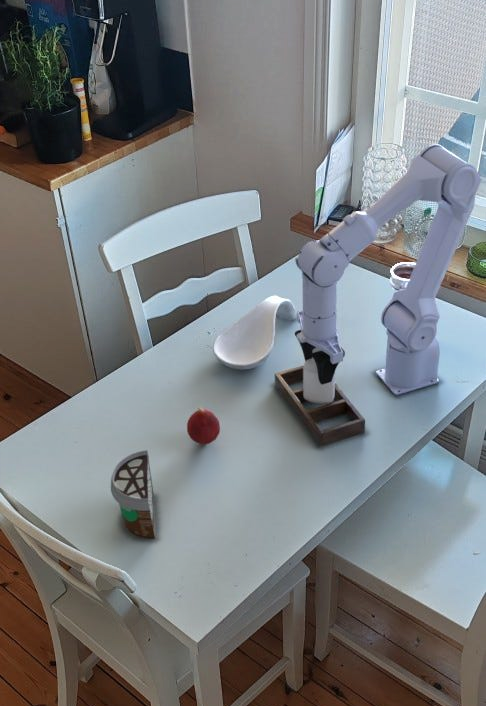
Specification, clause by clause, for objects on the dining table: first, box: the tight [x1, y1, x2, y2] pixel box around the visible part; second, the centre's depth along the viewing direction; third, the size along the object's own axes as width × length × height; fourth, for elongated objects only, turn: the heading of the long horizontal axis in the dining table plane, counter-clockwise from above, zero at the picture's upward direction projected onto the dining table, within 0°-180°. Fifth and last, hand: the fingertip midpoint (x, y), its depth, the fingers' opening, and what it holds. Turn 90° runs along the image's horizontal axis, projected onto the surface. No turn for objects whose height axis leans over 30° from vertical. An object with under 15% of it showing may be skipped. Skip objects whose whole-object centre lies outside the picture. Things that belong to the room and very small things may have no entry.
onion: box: [186, 407, 221, 445], centre depth 163 cm, size 6×6×8 cm
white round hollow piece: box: [389, 262, 416, 293], centre depth 186 cm, size 7×7×12 cm
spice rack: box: [274, 364, 366, 448], centre depth 170 cm, size 9×19×3 cm, turn 22°
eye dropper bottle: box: [302, 348, 336, 405], centre depth 165 cm, size 4×6×12 cm
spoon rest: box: [212, 295, 297, 370], centre depth 184 cm, size 24×12×7 cm, turn 150°
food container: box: [110, 449, 156, 540], centre depth 149 cm, size 12×6×10 cm, turn 5°
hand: (319, 373), depth 166 cm, fingers closed on eye dropper bottle, 5 cm apart
